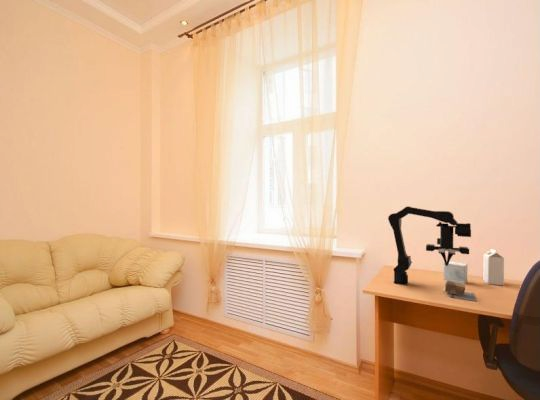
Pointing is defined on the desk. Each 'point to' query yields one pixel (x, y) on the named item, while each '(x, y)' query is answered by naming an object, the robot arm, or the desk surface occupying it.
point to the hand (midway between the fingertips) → (446, 265)
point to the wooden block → (454, 288)
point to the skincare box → (455, 272)
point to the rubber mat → (466, 296)
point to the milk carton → (493, 268)
